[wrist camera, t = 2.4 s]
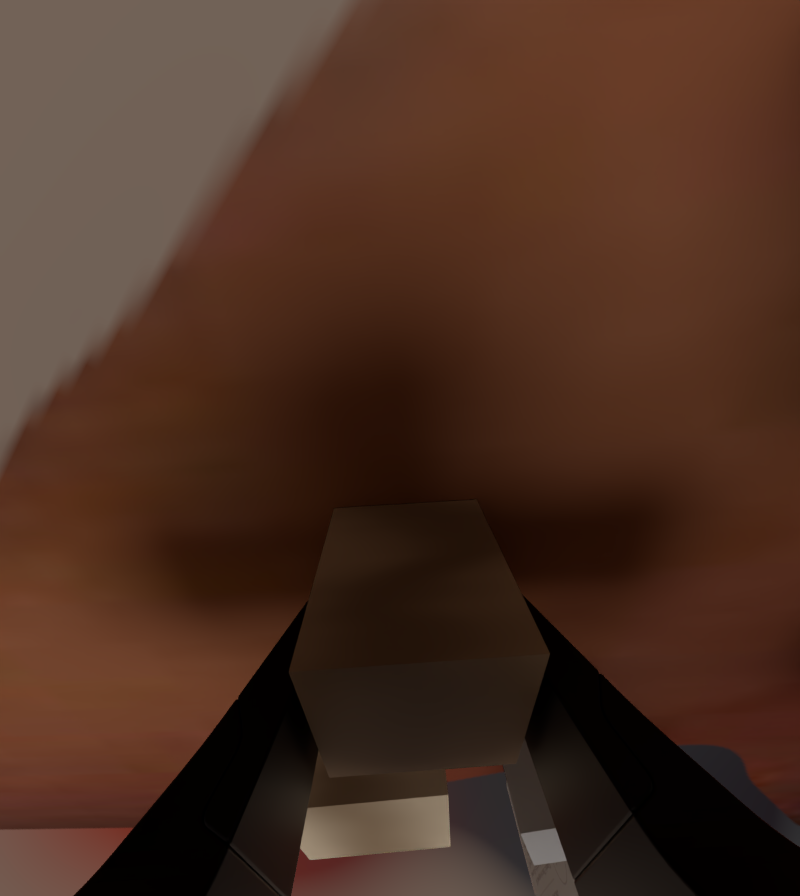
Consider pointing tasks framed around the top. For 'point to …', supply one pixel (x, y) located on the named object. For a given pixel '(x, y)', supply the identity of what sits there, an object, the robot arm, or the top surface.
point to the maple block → (375, 813)
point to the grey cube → (532, 811)
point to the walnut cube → (416, 643)
